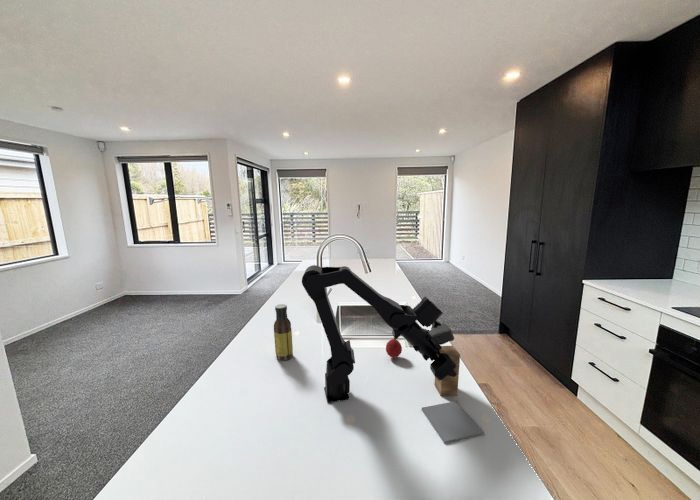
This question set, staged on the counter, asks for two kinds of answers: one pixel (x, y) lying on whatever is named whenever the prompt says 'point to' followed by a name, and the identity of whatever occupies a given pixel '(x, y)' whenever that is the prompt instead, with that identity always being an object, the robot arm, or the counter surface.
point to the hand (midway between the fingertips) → (451, 369)
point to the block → (449, 383)
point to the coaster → (452, 422)
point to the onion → (393, 348)
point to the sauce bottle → (282, 334)
